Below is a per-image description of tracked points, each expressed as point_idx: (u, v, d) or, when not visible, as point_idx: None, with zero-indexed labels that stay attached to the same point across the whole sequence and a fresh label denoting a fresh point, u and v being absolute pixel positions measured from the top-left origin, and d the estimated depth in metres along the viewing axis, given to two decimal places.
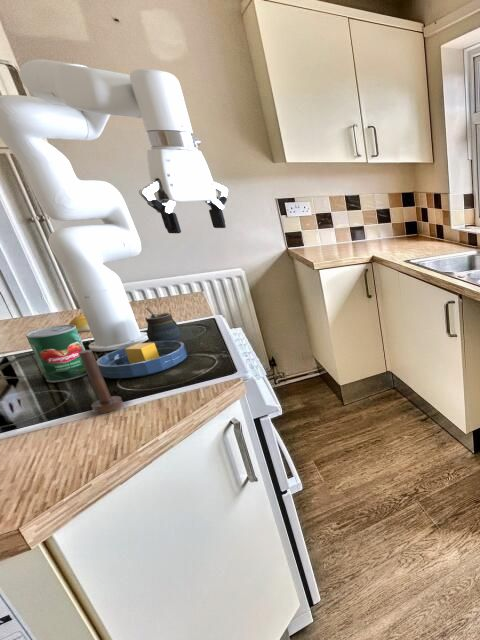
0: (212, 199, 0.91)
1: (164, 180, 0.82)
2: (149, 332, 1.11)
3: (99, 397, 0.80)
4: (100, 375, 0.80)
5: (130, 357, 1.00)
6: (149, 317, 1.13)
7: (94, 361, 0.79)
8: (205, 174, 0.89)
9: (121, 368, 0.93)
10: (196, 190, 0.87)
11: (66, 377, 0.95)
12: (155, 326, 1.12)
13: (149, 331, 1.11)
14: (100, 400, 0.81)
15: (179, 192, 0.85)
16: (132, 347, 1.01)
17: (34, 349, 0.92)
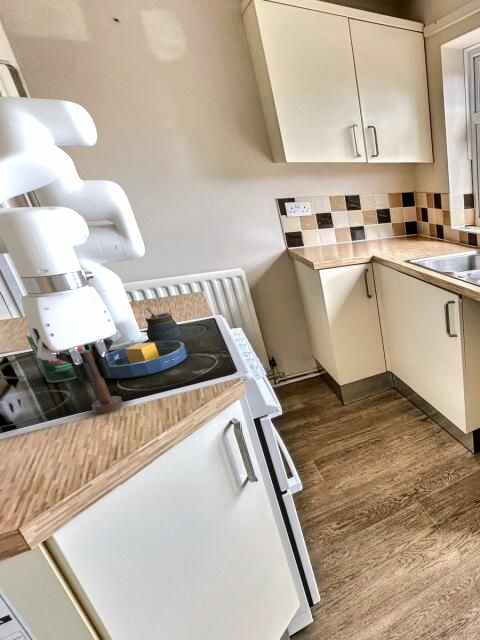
0: (110, 336, 0.80)
1: (42, 331, 0.71)
2: (149, 332, 1.11)
3: (99, 397, 0.80)
4: (100, 375, 0.80)
5: (130, 357, 1.00)
6: (149, 317, 1.13)
7: (94, 361, 0.79)
8: (99, 312, 0.78)
9: (121, 368, 0.93)
10: (87, 332, 0.76)
11: (66, 377, 0.95)
12: (155, 326, 1.12)
13: (149, 331, 1.11)
14: (100, 400, 0.81)
15: (63, 340, 0.74)
16: (132, 347, 1.01)
17: (34, 349, 0.92)
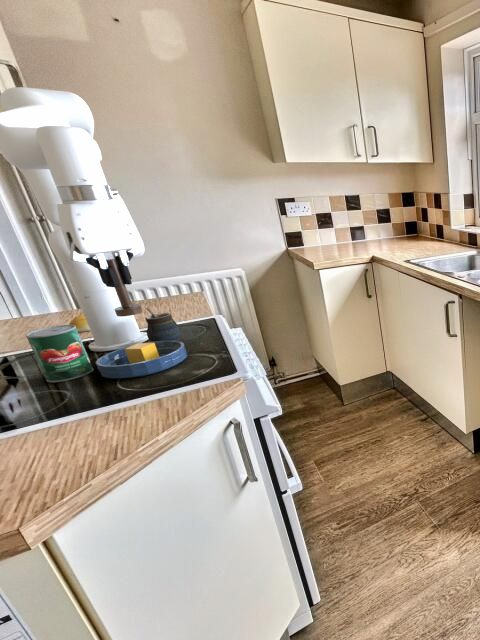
0: (131, 248, 0.91)
1: (74, 234, 0.82)
2: (149, 332, 1.11)
3: (121, 302, 0.91)
4: (122, 282, 0.91)
5: (130, 357, 1.00)
6: (149, 317, 1.13)
7: (117, 269, 0.90)
8: (122, 224, 0.88)
9: (121, 368, 0.93)
10: (112, 241, 0.87)
11: (66, 377, 0.95)
12: (155, 326, 1.12)
13: (149, 331, 1.11)
14: (122, 305, 0.92)
15: (92, 245, 0.84)
16: (132, 347, 1.01)
17: (34, 349, 0.92)
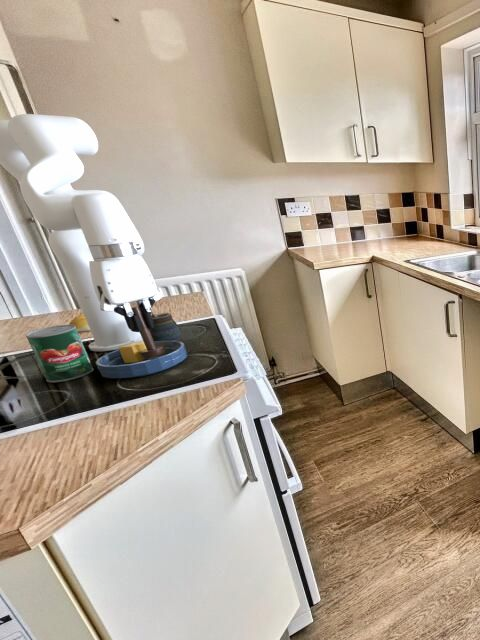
0: (153, 296, 1.01)
1: (105, 288, 0.92)
2: None
3: (146, 344, 1.01)
4: (146, 326, 1.00)
5: (124, 356, 1.01)
6: None
7: (141, 315, 0.99)
8: (145, 275, 0.98)
9: (121, 368, 0.93)
10: (137, 291, 0.97)
11: (66, 377, 0.95)
12: (155, 326, 1.12)
13: None
14: (147, 347, 1.01)
15: (120, 296, 0.94)
16: (126, 345, 1.01)
17: (34, 349, 0.92)
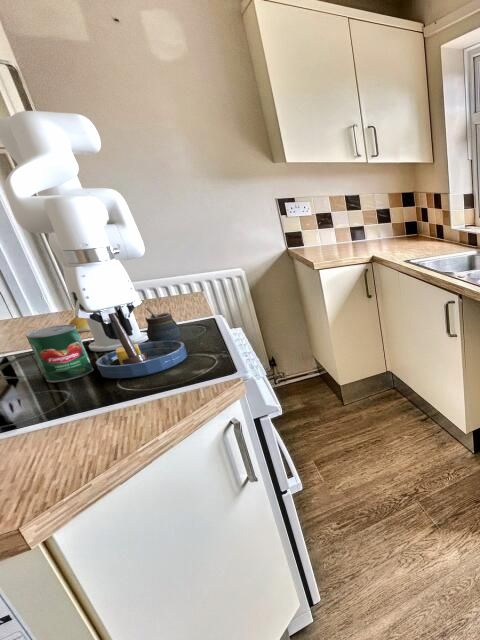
0: (132, 302, 0.97)
1: (79, 294, 0.88)
2: (149, 332, 1.11)
3: (127, 352, 0.97)
4: (125, 333, 0.96)
5: None
6: (149, 317, 1.13)
7: (119, 321, 0.96)
8: (124, 281, 0.95)
9: (121, 368, 0.93)
10: (114, 297, 0.93)
11: (66, 377, 0.95)
12: (155, 326, 1.12)
13: (149, 331, 1.11)
14: (128, 354, 0.97)
15: (96, 303, 0.91)
16: (121, 348, 1.00)
17: (34, 349, 0.92)
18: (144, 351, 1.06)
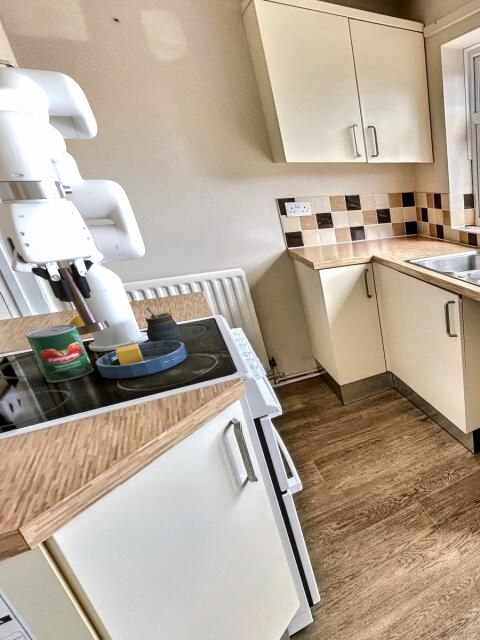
0: (90, 255, 0.77)
1: (17, 240, 0.69)
2: (149, 332, 1.11)
3: (82, 318, 0.77)
4: (80, 294, 0.77)
5: None
6: (149, 317, 1.13)
7: (72, 279, 0.76)
8: (78, 228, 0.75)
9: (121, 368, 0.93)
10: (65, 248, 0.74)
11: (66, 377, 0.95)
12: (155, 326, 1.12)
13: (149, 331, 1.11)
14: (84, 321, 0.77)
15: (39, 252, 0.71)
16: (121, 348, 1.00)
17: (34, 349, 0.92)
18: (144, 351, 1.06)
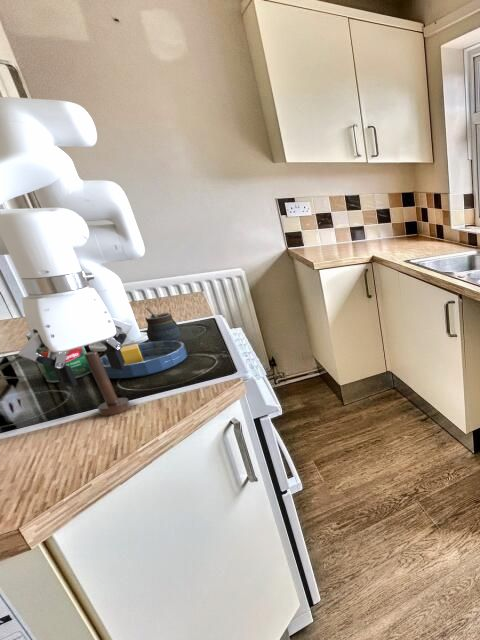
0: (110, 337, 0.80)
1: (42, 332, 0.71)
2: (149, 332, 1.11)
3: (105, 399, 0.80)
4: (106, 377, 0.79)
5: None
6: (149, 317, 1.13)
7: (99, 363, 0.78)
8: (99, 313, 0.78)
9: None
10: (87, 333, 0.76)
11: None
12: (155, 326, 1.12)
13: (149, 331, 1.11)
14: (106, 402, 0.80)
15: (64, 341, 0.74)
16: None
17: None
18: (144, 351, 1.06)
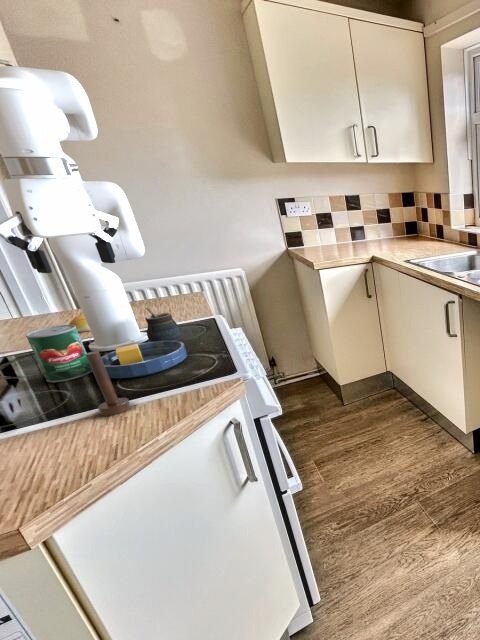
0: (95, 232, 0.80)
1: (25, 214, 0.71)
2: (149, 332, 1.11)
3: (106, 399, 0.80)
4: (107, 377, 0.79)
5: None
6: (149, 317, 1.13)
7: (101, 363, 0.78)
8: (83, 204, 0.78)
9: (121, 368, 0.93)
10: (71, 223, 0.76)
11: (66, 377, 0.95)
12: (155, 326, 1.12)
13: (149, 331, 1.11)
14: (107, 402, 0.80)
15: (47, 227, 0.74)
16: (121, 348, 1.00)
17: (34, 349, 0.92)
18: (144, 351, 1.06)
